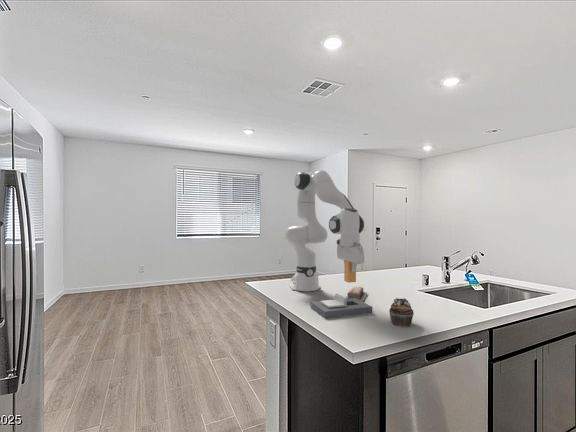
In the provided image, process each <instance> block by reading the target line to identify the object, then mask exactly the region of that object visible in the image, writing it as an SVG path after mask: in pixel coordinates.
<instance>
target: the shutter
mask: <svg viewBox="0 0 576 432" xmlns="http://www.w3.org/2000/svg"><path fill="white" fill-rule="evenodd" d="M334 295H335V297H334V299H326V300H320V301H321V303H322V304H323V305H325V306H326V307H328V308H333V307H343V306H346V296H343V295H341V294H339V293H335V294H334Z"/></svg>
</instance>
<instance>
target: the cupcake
mask: <svg viewBox="0 0 576 432" xmlns="http://www.w3.org/2000/svg"><path fill="white" fill-rule="evenodd" d="M388 312H389V317H390V323H391V324H392V325H394V326H397V327H402V328H404V327H405V328H407V327H411V325H412V323H413V317H414V316H415V315H414V314H415V313H414V310H413V308H412V305H411V303H410V302H409V300H407V298H397V297H396V298H394V299H393V302H392V303H391V304H390V308H389V311H388Z"/></svg>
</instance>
